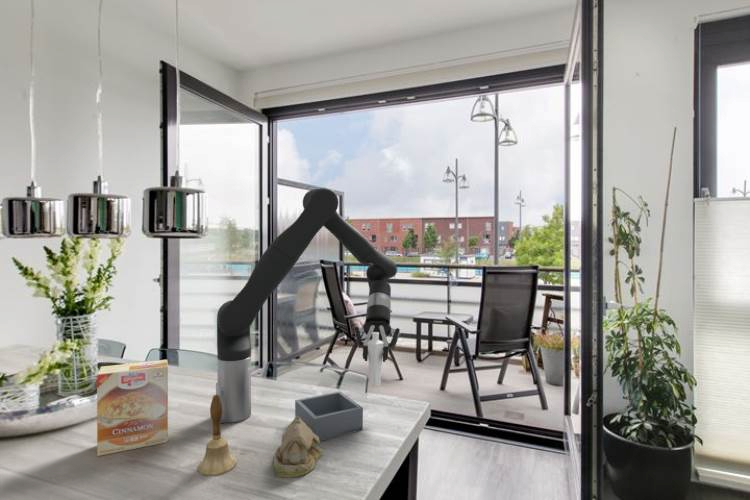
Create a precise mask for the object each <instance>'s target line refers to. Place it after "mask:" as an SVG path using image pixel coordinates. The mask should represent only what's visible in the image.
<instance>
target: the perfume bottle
mask: <svg viewBox="0 0 750 500" xmlns="http://www.w3.org/2000/svg"><path fill="white" fill-rule="evenodd" d="M383 344H384V343H383V342H382V341H380V340H379V333H378V332H372V340H370V341H369V342H368V360H367V361H368V379H369V380H368V383H367V385H368V386H369V387H374V388H376V387H381V386H382V382H381V375H382V374H381V373H382V364H383V347H384V346H383Z"/></svg>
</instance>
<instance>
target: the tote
mask: <svg viewBox="0 0 750 500" xmlns="http://www.w3.org/2000/svg"><path fill="white" fill-rule="evenodd" d="M294 408H295V409H294V418H295V417H296V416H298V417H300V418H301V420H302V421H303V422H304V423H305V424H306V425H307V426H308V427H309V428H310V429H311V430H312V432H313V433H314V434H315V435H317V436H318V437H319V441H320V442H322V441H325V440H329V439H333V438H336V437H340V436H344V435H348V434H352V433H355V432H359V431H362V430H363V429H364V428H363V427H364V426H363V425H364V408H363V407H362V406H361V405H360V404H358V403H357V402H355V400H353V399H352V398H351V397H349V396H348V395H346V394H345V393H343V392H342V391H341V390H339V391H334V392H329V393H325V394H319V395H314V396H311V397H310V396H309V397H305V398H304V397H303V398H299V399H295V400H294Z"/></svg>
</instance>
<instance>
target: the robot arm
mask: <svg viewBox="0 0 750 500" xmlns="http://www.w3.org/2000/svg"><path fill="white" fill-rule="evenodd" d="M302 207H303V210H302V212H301V213H300V215H299V216H298V218H297V219H296V220H295V221H294V222H293V223H291V225H289V226H288V227H287V228H286V229H285V230H283V231H282V232H281V233H280V234H279V235H278V236H277V237H275V239H274V240H273V241H272V242H271V243H270V244H269V245H268V247H267V248H266V250H265V251H264V252H263V254H262V255H261V257H260V258H259V259H258V262H257V263H256V265H255V267H254V268H253V270H252V272H251V274H250V276H249V278H248V280H247V282H246V283H245V285H244V286H243V288H242V289H241V290H240V291H239V292H238V293H237V295H236V296H235V297H234V298H233V299H232V300H228V301H226V302H224V303H223V304H222V305H221V306H220V307H219V309H218V310H217V314H216V315H217V316H216V347H217V348H216V349H217V350H216V351H217V353H216V355H217V368H216V369H217V373H216V374H217V375H216V376H217V382H216V383H215V395H219V397H220V400H221V403H222V417H221V421H220V424H221V423H235V422H236V423H238V422H241V421H245V420H246V419H248V418H249V417H251V415H252V345H251V344H252V343H251V342H252V341H251V327H252V324H253V322H254V321H255V319H256V318H257V315H258V314H259V312H260V311H261V309H262V308H263V306H264V305H265V303H266V301H267V300H268V298H269V297H270V296H271V295H272V293H274V292H275V290H276V289H277V288H278V287H279V286H280V284H281V283H282V282H283V281H284V280H285V278H286V277H287V276H288V274H289V273H290V272H291V270H292V269H293V268H294V266H295V265H296V263H297V262H298V260H299V259H300V258H301V256H302V255H303V253H305V251H306V250H307V248H308V246H309V245H310V244H311V242H312V240H313V239H314V238H315V236H316V235H317V234H318V232H319V231H320V230H322V228H323V227H324V228H325V229H326V230H328V231H329V232H330V233H331V234H332V236H334V237H335V238H336V239H337V240H338V241H339V242H340V243H341V244H342V246H343V247H345V248H346V250H348V252H349V253H350V254H351V256H352V257H354V258H355V259H356V260H357V261H358V262H359V263H360V264H361V265H368V267H367V269H366V271H365V274H366V279H367V283H368V289H369V290H368V291H369V292H368V299H367V303H366V311H365V313H366V314H365V322H364V323H365V324H364V325H363V326H362V327H359V326H355V327H354V334H355V339H356V342H357V343H356V344H357V347H358V349H362V359H363V360H364V361H365V362H368V361H369V360H368V342H369V341H370V340H372V332H378V333H379V340H380V341H382V342H383V343H384V344H383V355H382V363H386V361H388V359H389V351H390V350H394V349H395V348H396V345H397V343H398V340H399V337H400V328H399V327H397V328H393V327H392V326H391V312H392V309H391V308H392V306H391V305H392V302H391V296H392V295H391V292H392V291H391V290H392V289H391V288H392V287H391V284H390V283H389V282H388V281H387V280H390V279H392V278H394V277H395V276H396V275H397V273H398V266H397V264H396V262H395V261H394V260H393V259H392V258H391V257H390V256H388V255H387V254H385V253H383V252H382V251H381V250H379V249H377V248H375V246H374V245H372V243H371V242H370V241H369V240H368V239H367V238H366V236H364V235H363V234H362V232H360V231H359V230H358V229H357V228H355V227H354V226H352V224H350V223H348V222H347V221H346V219H344V218H343V217H342V215H340V213H338V211H337V210H338V208H339V197H338V195H337V193H336V192H335V191H334V190H333V189H330V188H325V187H319V188H314V189H311V190H309V191H307V192H306V193H305V194H304V196H303V198H302ZM363 333H364V334H365V335H366V336H365V339H364V342H363V341H362V337H361V336H362V335H363ZM390 334H391V336H392V338H391V341H390V342H389V341H388V339H387V337H388V336H389V335H390Z"/></svg>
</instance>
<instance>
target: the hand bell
mask: <svg viewBox="0 0 750 500" xmlns="http://www.w3.org/2000/svg"><path fill="white" fill-rule="evenodd" d="M209 411H210V412H209V413H210V419H211V421H212V438H211V440H209V441H208V442H207V443H206V447H205V454H204V457H203V459H202V460H201V461H200V462H199V464H198V466H197V471H198V473H199V475H202V476H208V477H212V476H214V477H215V476H219V475H223V474H225V473H227V472H229V471H231V470H234V468H235V467H236V465H237V462H238V461H237V458H236V457H235V456H234V455H232V454H231V452H230V448H229V443H228V442H229V441H228V440H227V439H226V438H224V437H222V433H221V430H222V429H221V423H220V421H221V417H222V403H221V400H220V397H219V395H216V394H214V395H213V396H212V399H211V402H210V408H209Z"/></svg>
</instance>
